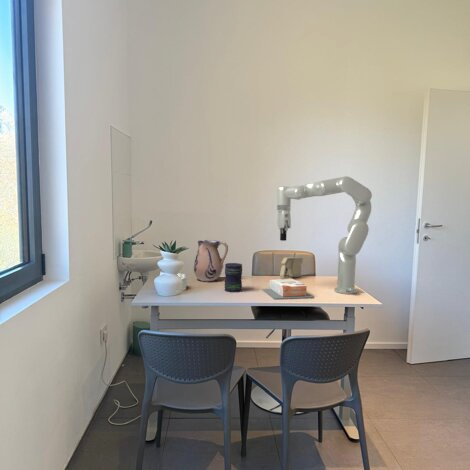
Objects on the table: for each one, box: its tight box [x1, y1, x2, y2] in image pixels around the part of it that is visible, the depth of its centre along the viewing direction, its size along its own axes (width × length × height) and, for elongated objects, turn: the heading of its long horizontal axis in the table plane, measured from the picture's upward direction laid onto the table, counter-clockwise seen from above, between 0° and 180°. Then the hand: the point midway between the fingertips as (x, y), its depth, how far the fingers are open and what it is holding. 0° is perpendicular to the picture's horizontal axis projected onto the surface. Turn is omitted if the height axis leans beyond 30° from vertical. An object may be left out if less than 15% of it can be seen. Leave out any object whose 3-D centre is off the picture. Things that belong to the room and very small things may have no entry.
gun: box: [279, 256, 304, 279], centre depth 272 cm, size 24×3×15 cm, turn 143°
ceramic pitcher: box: [193, 239, 229, 282], centre depth 259 cm, size 18×21×25 cm
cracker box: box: [268, 277, 308, 297], centre depth 230 cm, size 14×6×21 cm
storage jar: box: [224, 262, 243, 293], centre depth 233 cm, size 10×10×18 cm
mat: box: [262, 288, 314, 301], centre depth 229 cm, size 22×22×1 cm
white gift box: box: [175, 272, 187, 293], centre depth 233 cm, size 10×13×9 cm
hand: (283, 240), depth 237 cm, fingers closed
